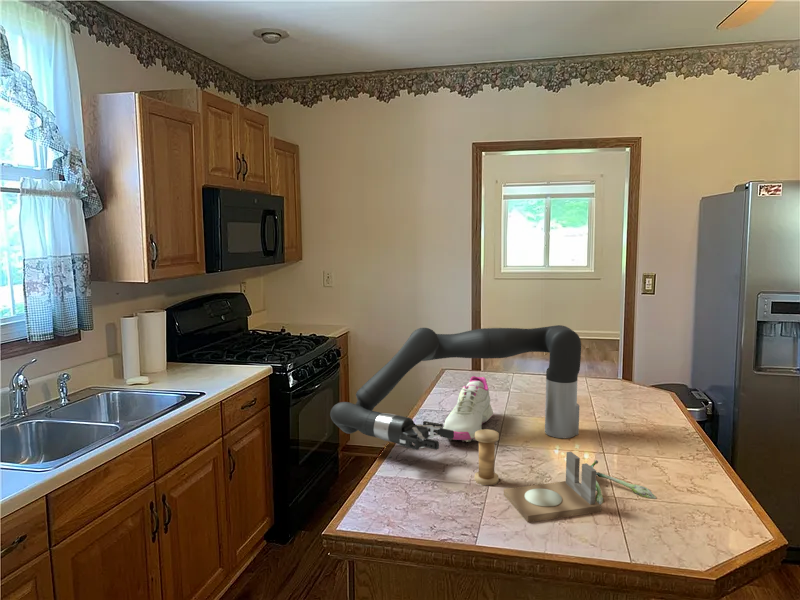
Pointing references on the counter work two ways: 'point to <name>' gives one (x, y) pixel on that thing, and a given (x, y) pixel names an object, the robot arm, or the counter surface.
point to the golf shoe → (470, 410)
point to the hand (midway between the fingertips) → (446, 440)
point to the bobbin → (486, 457)
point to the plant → (636, 488)
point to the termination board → (558, 495)
